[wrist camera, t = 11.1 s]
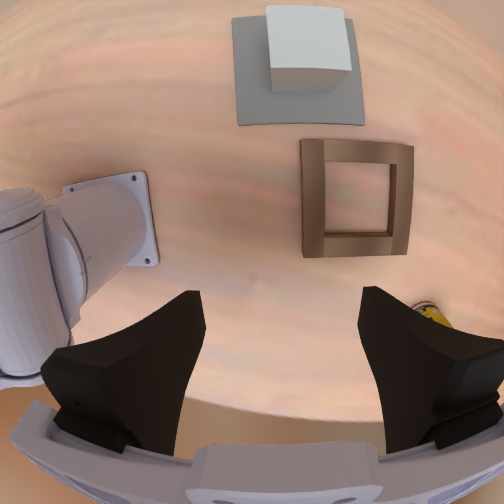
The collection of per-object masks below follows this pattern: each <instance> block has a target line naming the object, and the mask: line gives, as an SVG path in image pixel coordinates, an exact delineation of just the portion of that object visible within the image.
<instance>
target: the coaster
mask: <svg viewBox="0 0 504 504" xmlns="http://www.w3.org/2000/svg"><path fill="white" fill-rule="evenodd" d="M344 20H345V26H346V32H347V38H348V44H349V51H350V59H351V67H352V71H351V72H350V73H349V74H348V75H347V76H346V77H345V78H344V79H343V80H342V81H341V82H340V83H339V84H338V85H337V86H336V87H335V88H334V89H333V90H332V91H331V92H330V93H322V92H272V82H271V67H270V54H269V41H268V29H267V17H266V16H251V17H240V18H232V33H233V50H234V67H235V83H236V99H237V115H238V125H239V126H245V125H261V124H290V123H318V124H346V125H361V126H363V125H365V114H364V101H363V90H362V80H361V71H360V64H359V56H358V50H357V43H356V38H355V32H354V27H353V21H352V19H346V18H344Z"/></svg>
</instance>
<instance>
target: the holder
mask: <svg viewBox="0 0 504 504" xmlns="http://www.w3.org/2000/svg"><path fill="white" fill-rule="evenodd" d="M300 151H301V179H302V253H303V257H304V258H321V257H355V256H386V255H407V249H408V241H409V233H410V224H411V213H412V199H413V179H414V146H409V145H400V144H390V143H379V142H366V141H348V140H300ZM324 161H338V162H366V163H384V164H390V199H389V215H388V228H387V232H364V233H324V230H325V167H324Z"/></svg>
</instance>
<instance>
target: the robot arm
mask: <svg viewBox="0 0 504 504" xmlns="http://www.w3.org/2000/svg"><path fill="white" fill-rule="evenodd" d="M134 175H135V176H136V181H134V179H133V176H134ZM72 189H74V192H73V190H72ZM146 258H147V259H149V260H150V262H148V261H147V260H146ZM158 263H159V256H158V251H157V245H156V240H155V234H154V228H153V222H152V215H151V208H150V201H149V194H148V186H147V177H146V174H145V172H143V171H137V172H131V173H125V174H119V175H114V176H109V177H104V178H99V179H94V180H89V181H85V182H80V183H76V184H72V185H68V186H64V187H63V188H62V196H59V197H56V198H53V199H50V200H47V201H45V202H44V198H43V196H42V195H41V194H38V193H37V192H36V191H35V190H34V189H32V188H18V189H11V190H6V191H1V192H0V390H2V389H4V388H8V387H31V386H36V385H40V384H43V383H45V384H46V386H47V388H48V389H49V391H50V392H51V393H52V395H53V396H54V398H55V399H56V400H57V402H58V403H59V404H60V406H61V408H60V410H59V411H58V412H57V411H56V410H55V409H54V408H52V407H50V406H48V405H46V404H44V403H42V402H40V401H38V400H34V401H33V402H32V404H31V405H30V406H29V408H28V409H27V411H26V412H25V413H24V415H23V416H22V418H21V419H20V421H19V422H18V423H17V425H16V426H15V428H14V429H13V431H12V432H11V434H10V435H9V437H8V439H9V441H10V442H11V443H12V444H13V445H14V446H16V448H17V449H19V450H20V451H21V452H22V453H23V454H24V455H25V456H26V457H27V458H29V459H30V460H31V461H32V462H33V463H34V464H36V465H37V466H38V467H39V468H40V469H41V470H43V471H44V472H45V473H47V474H49V475H50V476H52V477H53V478H55V479H57V480H58V481H60V482H62V483H63V484H65V485H67V486H68V487H70V488H72V489H74V490H75V491H77V492H79V493H81V494H83V495H85V496H87V497H88V498H90V499H92V500H94V501H96V502H99V503H101V504H449V503H451V502H453V501H455V500H457V499H458V498H461V497H463V496H464V495H466V494H468V493H470V492H472V491H473V490H475V489H477V488H479V487H480V486H482V485H484V484H485V483H487V482H488V481H490V480H492V479H493V478H495V477H496V476H498V475H499V474H501V473H502V472H504V403H503V404H502V405H501V406H499V404H498V402H497V400H498V399H499V398H500V395H499V393H498V392H497V389H498V388H499V386H500V385H501V383H502V381H503V380H504V340H502V339H494V338H487V337H481V336H477V335H473V334H469V333H465V332H462V331H459V330H456V329H453V328H450V327H447V326H445V325H443V324H440V323H438V322H436V321H434V320H432V319H430V318H428V317H426V316H424V315H422V314H420V313H419V312H417V311H415V310H413V309H412V308H410V307H409V306H407V305H405V304H404V303H402V302H401V301H399V300H398V299H396V298H395V297H393V296H392V295H390V294H389V293H387V292H385V291H384V290H382V289H381V288H379V287H377V286H370V287H363V293H362V299H361V306H360V312H359V318H358V324H357V326H358V330H359V335H360V339H361V343H362V346H363V348H364V351H365V354H366V356H367V359H368V362H369V364H370V367H371V370H372V372H373V375H374V378H375V381H376V384H377V387H378V392H379V397H380V402H381V407H382V413H383V420H384V427H385V438H386V455H383V456H378V455H377V450H376V447H375V446H373V445H371V444H368V443H366V442H363V441H361V440H353V441H334V442H323V443H309V444H287V445H286V444H285V445H284V444H281V445H268V444H266V445H265V444H240V443H219V444H217V443H215V444H211V445H208V446H205V447H202V448H200V449H197V450H196V451H195V455H194V459H193V460H189V459H183V458H178V457H173V455H174V447H175V440H176V434H177V428H178V422H179V417H180V412H181V408H182V403H183V399H184V395H185V391H186V388H187V385H188V382H189V379H190V377H191V374H192V371H193V369H194V366H195V364H196V361H197V358H198V356H199V353H200V350H201V348H202V344H203V340H204V336H205V331H206V324H205V319H204V313H203V308H202V302H201V296H200V291H192V290H187V291H185V292H183V293H181V294H180V295H178V296H177V297H175V298H174V299H173V300H171V301H170V302H168V303H167V304H165V305H164V306H163V307H161V308H160V309H158V310H157V311H155V312H153V313H152V314H150V315H149V316H147V317H146V318H144V319H142V320H141V321H139V322H137V323H135V324H133V325H131V326H129V327H127V328H125V329H123V330H121V331H119V332H116V333H114V334H111V335H109V336H106V337H103V338H100V339H97V340H94V341H90V342H87V343H83V344H78V345H74V339H73V335H72V332H71V329H72V328H73V327H74V326H75V325H76V324H77V323H78V321H79V320H80V307H81V306H82V305H83V304H84V303H85V302H86V301H87V300H88V299H89V298H90V297H91V296H92V295H93V294H94V293H95V292H96V291H98V290H99V289H100V288H101V287H102V286H103V285H104V284H105V283H106V282H107V281H108V280H109V279H111V278H112V277H113V276H114V275H115V274H116V273H117V272H118V271H119V270H121V269H122V268H123V267H140V266H156V265H157V264H158Z"/></svg>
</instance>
